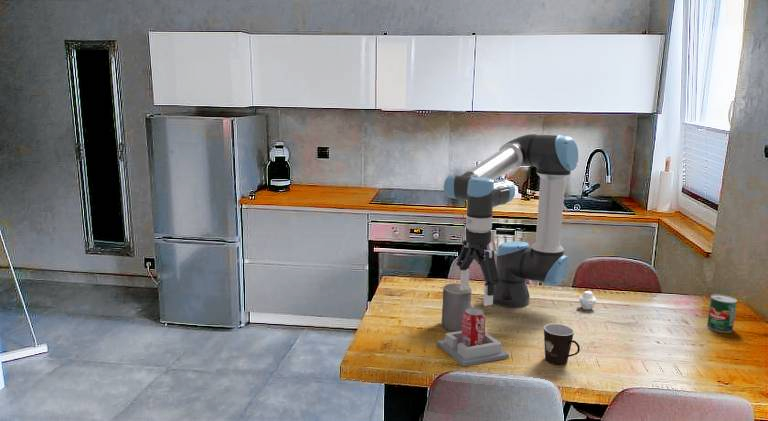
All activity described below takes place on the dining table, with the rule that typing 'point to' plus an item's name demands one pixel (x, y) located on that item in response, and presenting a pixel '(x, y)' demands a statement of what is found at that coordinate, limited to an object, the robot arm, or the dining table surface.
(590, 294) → the white lidded jar
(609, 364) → the dining table surface
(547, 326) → the coffee mug
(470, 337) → the soda can
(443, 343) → the pocket board
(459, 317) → the pillar candle
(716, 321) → the canned tomato
